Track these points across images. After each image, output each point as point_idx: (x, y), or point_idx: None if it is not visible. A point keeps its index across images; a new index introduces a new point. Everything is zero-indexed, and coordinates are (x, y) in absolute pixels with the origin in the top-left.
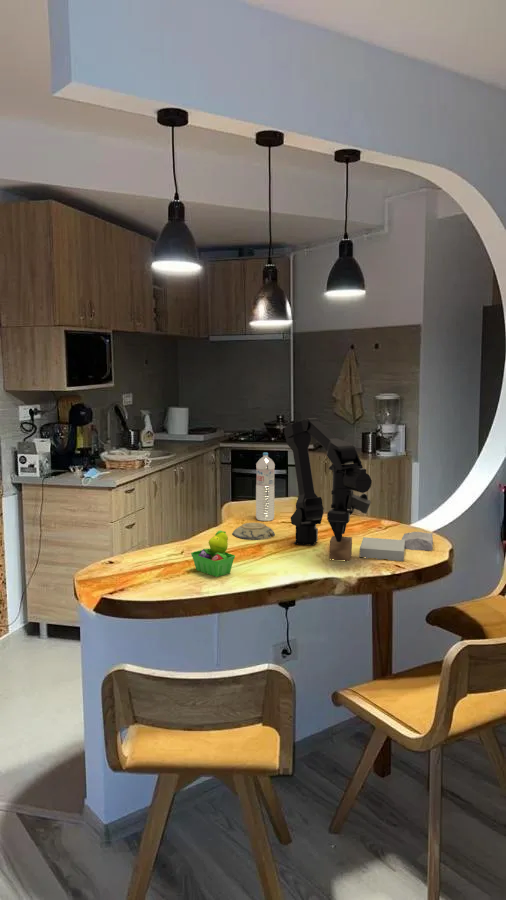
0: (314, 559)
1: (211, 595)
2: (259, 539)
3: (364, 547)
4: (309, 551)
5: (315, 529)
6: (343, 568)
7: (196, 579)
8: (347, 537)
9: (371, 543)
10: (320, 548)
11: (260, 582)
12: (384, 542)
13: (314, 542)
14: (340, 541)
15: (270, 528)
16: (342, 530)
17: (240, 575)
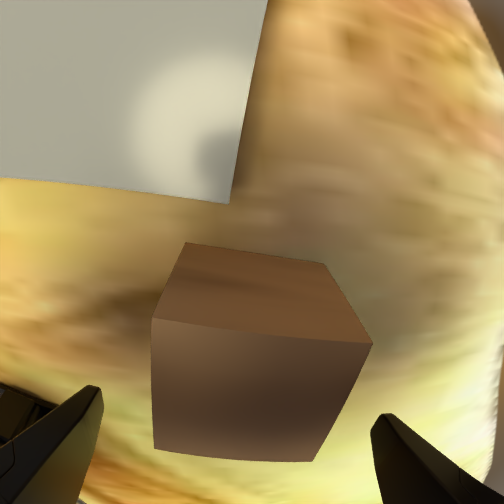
0: None
1: (483, 481)
2: (80, 500)
3: (197, 155)
4: (149, 432)
5: (3, 442)
6: (437, 298)
7: None
8: (178, 361)
9: (59, 92)
10: None
11: (465, 464)
12: (37, 1)
13: (37, 406)
14: (393, 415)
15: None
16: (471, 479)
17: None
